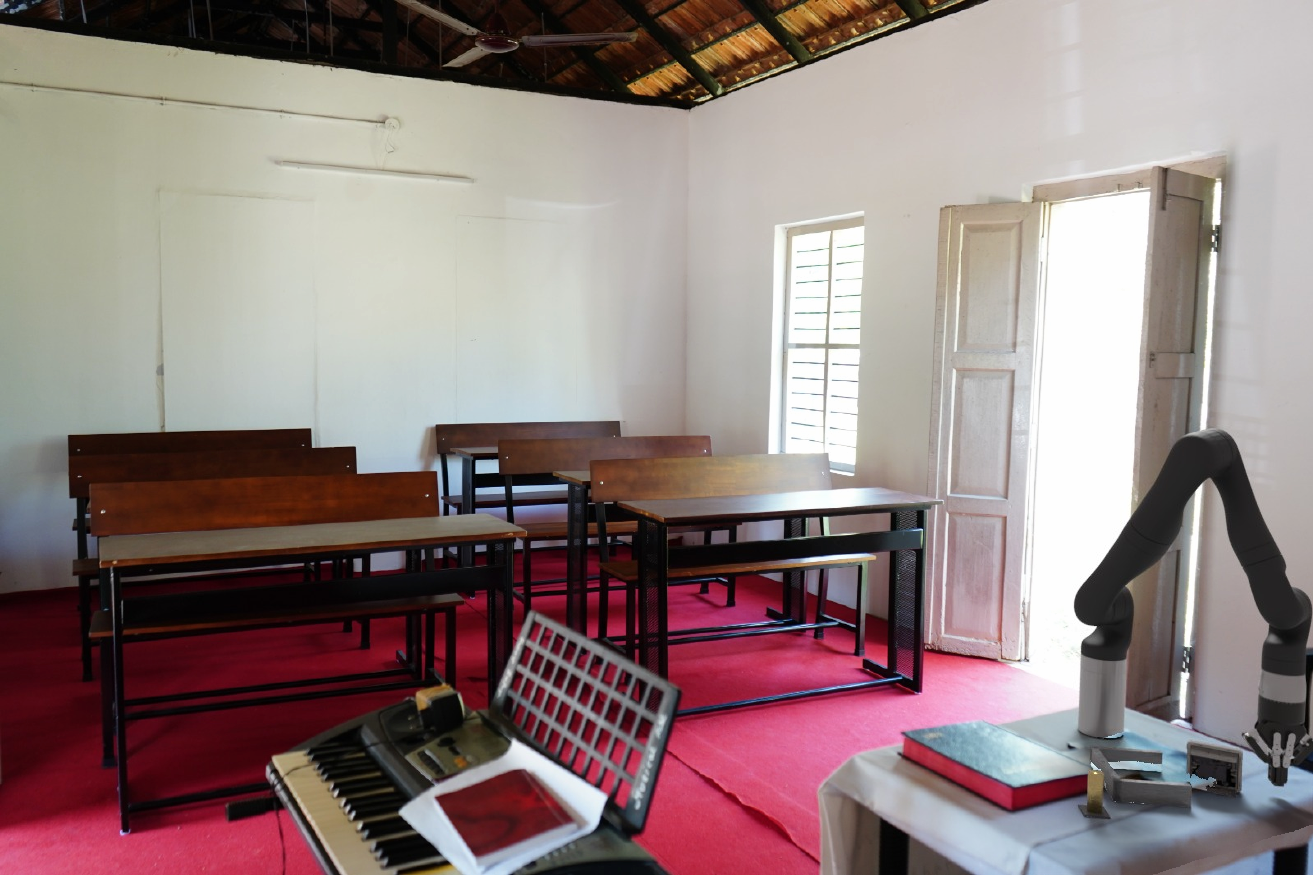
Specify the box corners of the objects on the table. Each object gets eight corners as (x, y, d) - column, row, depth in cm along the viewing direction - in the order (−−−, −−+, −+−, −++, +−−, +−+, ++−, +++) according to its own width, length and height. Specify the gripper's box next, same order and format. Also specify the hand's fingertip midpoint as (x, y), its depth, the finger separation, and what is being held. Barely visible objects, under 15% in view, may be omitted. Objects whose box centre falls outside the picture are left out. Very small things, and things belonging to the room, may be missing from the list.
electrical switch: (1242, 791, 191) (1243, 745, 189) (1240, 804, 186) (1242, 757, 185) (1186, 780, 196) (1187, 735, 194) (1183, 792, 191) (1185, 746, 190)
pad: (1078, 806, 184) (1078, 804, 184) (1103, 808, 183) (1103, 806, 183) (1084, 816, 179) (1084, 815, 179) (1110, 818, 178) (1110, 817, 178)
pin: (1085, 806, 183) (1086, 769, 182) (1100, 808, 182) (1101, 770, 182) (1088, 813, 180) (1090, 775, 180) (1104, 814, 180) (1105, 776, 179)
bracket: (1089, 765, 203) (1090, 746, 202) (1159, 770, 200) (1160, 750, 200) (1114, 802, 185) (1114, 780, 185) (1190, 807, 183) (1191, 786, 183)
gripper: (1251, 698, 185) (1247, 790, 186) (1330, 703, 183) (1325, 796, 184) (1235, 686, 192) (1231, 774, 193) (1311, 690, 190) (1306, 779, 191)
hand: (1277, 784), depth 189 cm, fingers closed
